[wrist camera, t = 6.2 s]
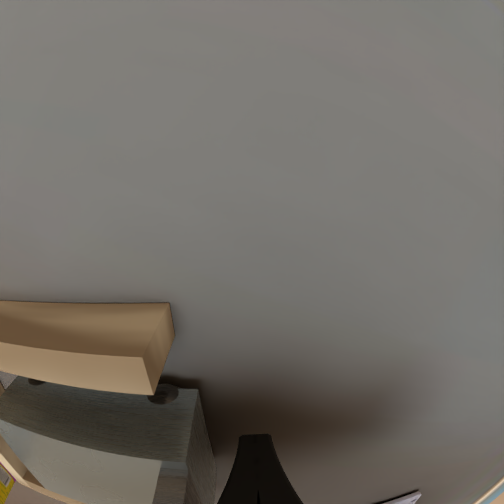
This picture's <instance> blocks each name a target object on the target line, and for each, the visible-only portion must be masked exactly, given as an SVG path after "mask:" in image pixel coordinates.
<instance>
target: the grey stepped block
mask: <svg viewBox="0 0 504 504" xmlns="http://www.w3.org/2000/svg"><path fill="white" fill-rule="evenodd" d="M0 434H1V436H2V437H3V438H4V440H5V441H6V443H7V444H8V445H9V447H10V448H11V449H12V450H13V452H14V453H15V454H16V456H17V457H18V458H19V459H20V460H21V462H22V463H23V464H24V465H25V466H26V468H27V469H28V470H29V471H30V472H31V473H32V475H33V476H34V477H35V478H36V479H37V480H38V481H39V482H40V483H41V484H42V486H43V487H44V488H45V489H47V490H50V491H52V492H55V493H57V494H60V495H63V496H65V497H68V498H71V499H74V500H77V501H80V502H83V503H86V504H214V498H215V483H216V464H215V460H214V456H213V452H212V448H211V444H210V440H209V436H208V432H207V428H206V423H205V419H204V414H203V410H202V405H201V401H200V396H199V391H198V389H181V388H179V387H178V386H176V385H173V384H167V383H162V384H158V385H157V387H156V390H155V393H154V395H142V394H130V393H119V392H110V391H101V390H94V389H86V388H80V387H73V386H67V385H62V384H56V383H51V382H46V381H41V380H36V379H32V378H27V377H23V376H19V375H18V376H17V377H16V379H15V380H14V381H13V382H12V383H11V384H10V385H9V387H8V388H7V389H6V390H5V391H4V393H3V394H2V395H1V396H0Z"/></svg>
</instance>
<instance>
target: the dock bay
mask: <svg viewBox="0 0 504 504" xmlns="http://www.w3.org/2000/svg"><path fill="white" fill-rule="evenodd" d="M174 337H175V333H174V327H173V322H172V316H171V310H170V305H169V303H130V304H91V303H42V302H17V301H0V371H4V372H7V373H11V374H15V375H19V376H23V377H27V378H32V379H36V380H41V381H46V382H51V383H56V384H62V385H67V386H73V387H80V388H86V389H94V390H101V391H110V392H119V393H130V394H142V395H154V393H155V390H156V387H157V384H158V381H159V379H160V376H161V373H162V370H163V367H164V364H165V362H166V359H167V356H168V353H169V350H170V348H171V345H172V342H173V340H174ZM4 391H5V390H4V388H3V386H2V384H1V382H0V396H1V395H2V394H3V393H4ZM0 462H1V463H2V464H3V466H4V467H5V468H6V469H7V470H8V471H9V472H10V474H11V475H12V476H13V477H14V478H15V479H16V480H17V481H18V482H19V483H20V484H22V485H24V486H26V487H29V488H31V489H33V490H35V491H38V492H40V493H42V494H45V495H47V496H50V497H52V498H55V499H57V500H60V501H63V502H65V503H68V504H86V503H83V502H80V501H77V500H74V499H71V498H68V497H65V496H63V495H60V494H57V493H55V492H52V491H50V490H47V489H45V488H44V487H43V486H42V484H41V483H40V482H39V481H38V480H37V479H36V478H35V477H34V476H33V475H32V473H31V472H30V471H29V470H28V469H27V468H26V466H25V465H24V464H23V463H22V462H21V460H20V459H19V458H18V457H17V456H16V454H15V453H14V452H13V450H12V449H11V448H10V447H9V445H8V444H7V443H6V441H5V440H4V438H3V437H2V436H1V434H0Z"/></svg>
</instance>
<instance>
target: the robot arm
mask: <svg viewBox="0 0 504 504" xmlns="http://www.w3.org/2000/svg"><path fill="white" fill-rule="evenodd" d="M420 496H421V493H420V491H418V492H415V493H412V494H409V495H407V496H404V497H401V498H398V499H395V500H392V501H389V502H386V503H382V504H415V502H416V501H417V500H418V499H419V497H420ZM217 504H303V502H302V501H301V500H300V498H299V496H298V495H297V493H296V492H295V490H294V489H293V487H292V485H291V484H290V482H289V480H288V478H287V476H286V474H285V472H284V470H283V468H282V466H281V464H280V462H279V459H278V457H277V455H276V452H275V449H274V446H273V442H272V438H271V435H269V434H255V435H242V436H240V437H239V444H238V449H237V454H236V458H235V461H234V464H233V467H232V470H231V473H230V476H229V478H228V481H227V484H226V486H225V488H224V490H223V492H222V495H221V497H220V499H219V501H218V503H217Z"/></svg>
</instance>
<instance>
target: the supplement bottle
mask: <svg viewBox="0 0 504 504" xmlns="http://www.w3.org/2000/svg"><path fill="white" fill-rule="evenodd" d="M15 481H16V479H15V478H14V477H13V476H12V475H11V474H10V472H9V471H8V470H7V469H6V468H5V467H4V466H3V464H2V463H1V462H0V504H4V503H5V500H6V498H7V496H8V494H9V492H10V490H11V488H12V486H13V484H14V482H15Z"/></svg>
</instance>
